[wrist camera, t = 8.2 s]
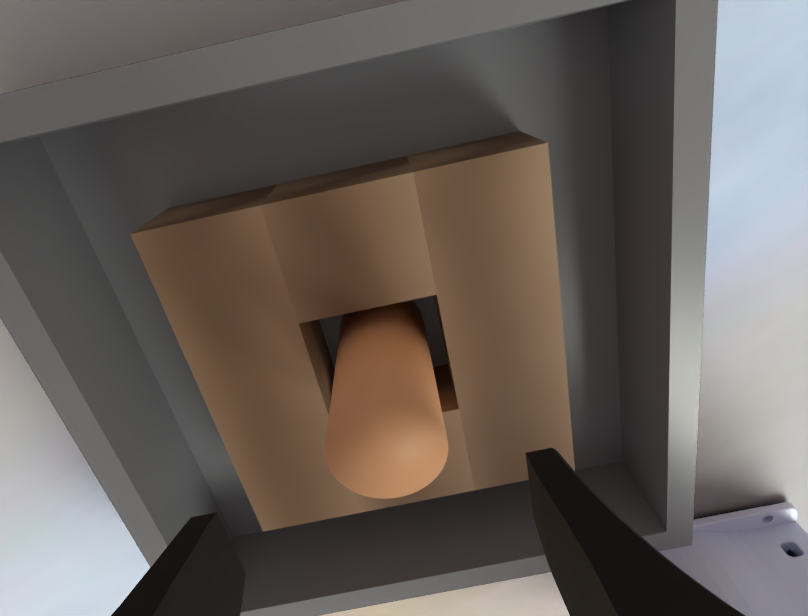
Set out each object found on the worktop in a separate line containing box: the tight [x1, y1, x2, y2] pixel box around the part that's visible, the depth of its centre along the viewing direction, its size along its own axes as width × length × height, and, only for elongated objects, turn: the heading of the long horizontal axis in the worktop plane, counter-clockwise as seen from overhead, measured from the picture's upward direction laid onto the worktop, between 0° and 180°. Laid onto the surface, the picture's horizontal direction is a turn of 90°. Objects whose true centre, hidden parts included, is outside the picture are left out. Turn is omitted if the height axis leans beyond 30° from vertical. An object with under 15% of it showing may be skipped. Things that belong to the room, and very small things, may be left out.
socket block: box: [130, 131, 575, 532], centre depth 18 cm, size 12×12×3 cm
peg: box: [325, 300, 448, 499], centre depth 17 cm, size 3×3×7 cm
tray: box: [0, 0, 718, 616], centre depth 18 cm, size 20×20×4 cm
